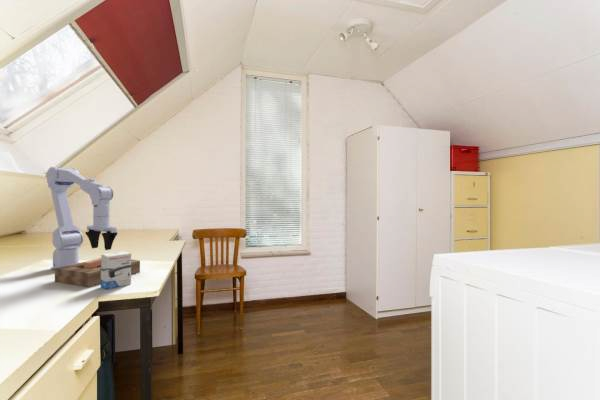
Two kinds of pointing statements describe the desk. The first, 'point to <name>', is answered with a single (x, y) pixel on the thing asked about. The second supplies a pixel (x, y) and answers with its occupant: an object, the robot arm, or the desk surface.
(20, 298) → the desk surface
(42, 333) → the desk surface
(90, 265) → the pink notched block
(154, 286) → the desk surface
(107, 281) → the ink box
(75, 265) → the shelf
